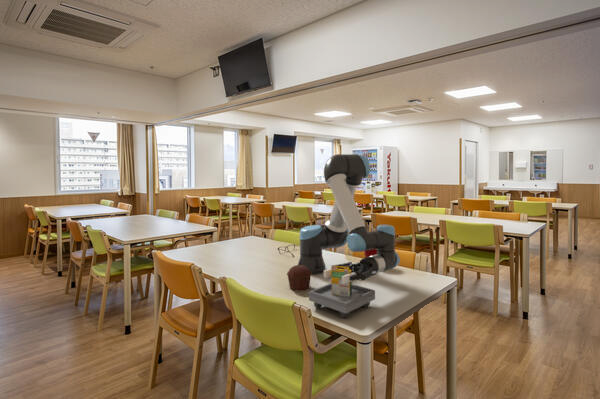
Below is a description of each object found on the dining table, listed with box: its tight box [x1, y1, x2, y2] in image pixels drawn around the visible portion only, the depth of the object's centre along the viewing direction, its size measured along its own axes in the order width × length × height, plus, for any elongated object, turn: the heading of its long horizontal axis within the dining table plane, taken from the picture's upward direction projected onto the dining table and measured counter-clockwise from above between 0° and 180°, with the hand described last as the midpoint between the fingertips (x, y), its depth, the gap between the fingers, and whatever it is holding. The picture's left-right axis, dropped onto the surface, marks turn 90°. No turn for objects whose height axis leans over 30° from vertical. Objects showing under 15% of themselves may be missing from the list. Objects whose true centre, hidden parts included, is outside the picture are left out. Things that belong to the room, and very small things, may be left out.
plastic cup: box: [363, 249, 377, 258], centre depth 186 cm, size 11×11×12 cm
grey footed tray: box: [308, 282, 376, 319], centre depth 132 cm, size 18×18×6 cm
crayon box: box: [330, 264, 353, 297], centre depth 132 cm, size 7×3×12 cm, turn 66°
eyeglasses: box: [277, 244, 300, 258], centre depth 221 cm, size 16×16×4 cm
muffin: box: [286, 264, 313, 292], centre depth 155 cm, size 12×11×10 cm
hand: (333, 277), depth 129 cm, fingers open, 9 cm apart
